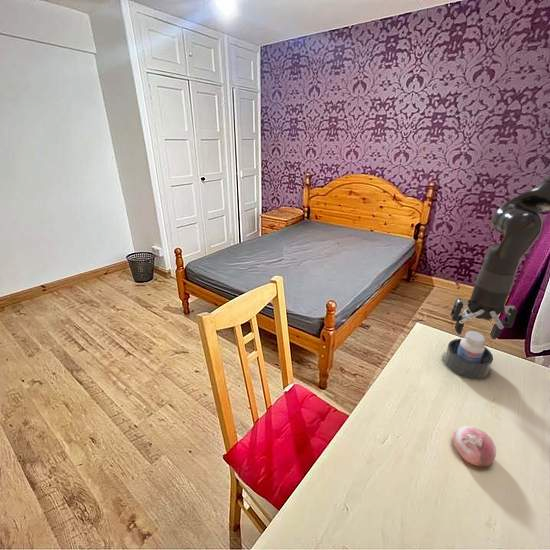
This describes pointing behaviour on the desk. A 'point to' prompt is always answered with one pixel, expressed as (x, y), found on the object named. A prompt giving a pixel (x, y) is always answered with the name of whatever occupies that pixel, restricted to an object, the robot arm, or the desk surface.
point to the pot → (466, 367)
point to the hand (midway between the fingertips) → (475, 334)
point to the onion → (474, 445)
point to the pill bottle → (471, 347)
